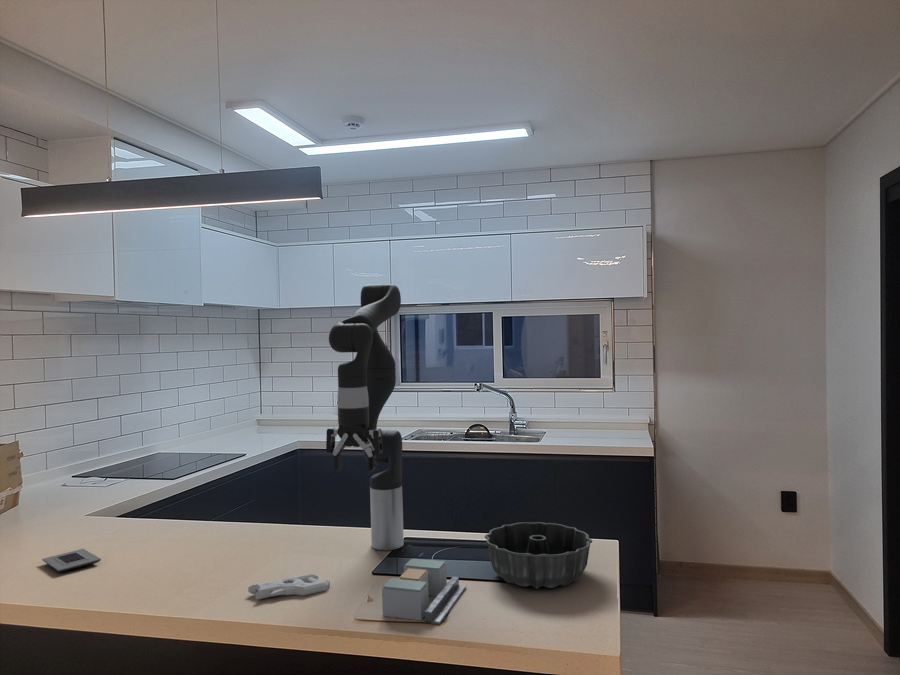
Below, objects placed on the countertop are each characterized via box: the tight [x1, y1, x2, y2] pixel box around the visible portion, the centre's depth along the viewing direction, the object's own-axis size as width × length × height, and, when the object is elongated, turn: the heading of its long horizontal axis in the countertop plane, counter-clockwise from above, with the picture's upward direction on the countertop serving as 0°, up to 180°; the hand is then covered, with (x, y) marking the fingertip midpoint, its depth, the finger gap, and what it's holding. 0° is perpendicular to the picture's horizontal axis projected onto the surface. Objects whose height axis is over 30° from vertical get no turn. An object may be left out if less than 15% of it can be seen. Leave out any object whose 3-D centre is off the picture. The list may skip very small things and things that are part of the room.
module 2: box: [381, 578, 430, 621], centre depth 149 cm, size 5×9×6 cm, turn 72°
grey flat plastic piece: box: [247, 573, 331, 600], centre depth 162 cm, size 18×4×10 cm
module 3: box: [403, 558, 448, 597], centre depth 161 cm, size 5×9×6 cm, turn 72°
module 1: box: [398, 568, 430, 596], centre depth 155 cm, size 6×5×6 cm
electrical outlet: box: [41, 548, 102, 573], centre depth 185 cm, size 13×10×2 cm
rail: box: [424, 576, 467, 625], centre depth 153 cm, size 20×3×2 cm, turn 162°
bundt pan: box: [484, 521, 593, 590], centre depth 168 cm, size 26×26×10 cm
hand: (355, 470), depth 165 cm, fingers open, 8 cm apart
